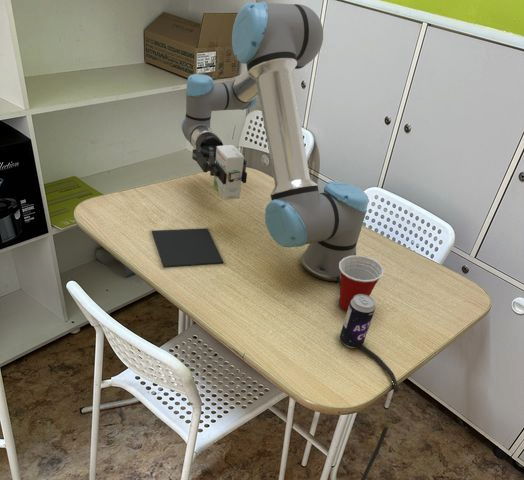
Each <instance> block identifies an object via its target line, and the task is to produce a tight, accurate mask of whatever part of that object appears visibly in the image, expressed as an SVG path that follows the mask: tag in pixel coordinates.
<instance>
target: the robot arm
mask: <svg viewBox="0 0 524 480" xmlns="http://www.w3.org/2000/svg"><path fill="white" fill-rule="evenodd" d="M323 42H324V28H323V25H322V21H321V19H320V17H319V15H318V14H317V13H316V12H315V11H314V10H313V9H312V8H310V7H309V6H307V5H304V4H298V3H294V4H291V3H289V4H288V3H277V2H265V1H259V2H248V3H245V4H244V5H242V6H241V8H240V9H239V10H238V12H237V14H236V16H235V19H234V22H233V26H232V33H231V46H232V52H233V55H234V57H235V58H236V60H237V61H238V62H239V63H241V64H244V65H245V66H246V69H245V70H244V71H243V72H241V74H239V75H238V76H237V77H236V78H235V79H233V80H232V81H229V82H214V79H213V78H212V77H211V76H209V75H207V74H200V73H193V74H190V75H189V76H188V78H187V81H186V89H185V95H186V96H185V99H186V100H185V117H183V120H182V122H181V131H182V133H183V136H184V138H185V139H186V140H187V141H188V142H189V144H190V146H192V147H193V149H192V153H191V155H192V157H191V158H192V160H194V161H195V162H196V163H197V165H198V166H199V167H200V169H201V170H202V172H203V173H208V172H209V176H211V177H214V176H216V177H218V178H219V179H220V181H221V182H222V183H223V184H226V178H227V174H226V173H225V171H224V170H223V169H222V168H221V166H220V165H219V164H216V166H215V163H216V149H217V146H224V143H223V141H222V140H221V139H220V137H219V136H218V135H217V134H216V133H215V132H214V131H213V129H212V128H211V119H212V112H217V111H219V112H220V111H238V110H239V111H240V110H241V111H242V110H243V111H244V110H248V109H252V108H254V107H255V105H256V103H257V102H258V100H259V105H260V111H261V116H262V120H263V121H262V122H263V127H264V132H265V138H266V143H267V149H268V154H269V160H270V164H271V171H272V176H273V182H274V188H273V189H272V191H271V192H270V200H271V201H269V202H268V203H267V205H266V207H265V213H264V220H265V227H266V228H267V231H268V233H269V235H270V237H271V238H272V240H273V241H275V243H276V244H278V245H279V246H281V247H283V248H288V249H289V248H295V247H296V248H298V247H304V246H306V245H308V246H307V248H306V249H305V250H304V252H303V254H302V258H301V266H302V268H303V269H304V270H305V271H306V272H307V273H308V274H309V275H311V276H313V277H315V279H316V278H317V279H319V280H321V281H326V282H332V283H338V285H339V288H340V287H341V271H340V269H339V262H340V261H341V260H342V259H343V258H345V257H348V256H354V255H357V245H358V241H359V237H360V235H361V231H362V227H363V224H364V222H365V218H366V214H367V212H368V205H369V196H368V194H367V193H366V192H365V191H364V190H363V189H361V188H359V187H358V186H355V185H353V184H351V183H347V182H344V181H336V180H331V181H328V182H326V184H325V185H324V187H323V192H320V191H319V185H318V184H317V183H316V182H315V181H313V180H312V178H311V176H310V171H309V170H310V169H309V164H308V159H307V152H306V146H305V141H304V133H303V129H302V121H301V117H300V111H299V105H298V99H297V92H296V87H295V81H294V76H293V75H294V74H293V73H294V71H295V70H301V69H302V68H304V67H305V66H307V65H308V64H310V63H311V62H312V61H313V60H314V59H315V58H316V57H317V55H318V54H319V52H321V49H322V46H323ZM247 162H248V161H247V160H246V159H245V158H244V162H243V171H242V180H241V183H242V184H247V180H248V179H247V178H248V173H247ZM358 348H359V349H361V351H363V352H364V353H365V354H367V355H368V356H370V357H371V358H373V360H375V361H376V362H377V363H378V364H379V365H380V366H381V368H382V369H383V370H384V371H385V372H386V371H387V372H386V373H387V374H388V376H389V378H390V381H391V380H392V381H393V383H394V385H393V383H392V381H391V384H392V390H393V392H394V393H395V394H398V393H399V388H398V387H399V386H398V381H397V378H396V376H395V374H394V373H393V371H392V370H391V368H390V367H389V366H388V365H387V364H386V363H385V362H384V360H382V358H381V357H379V356H378V355H377V354H376V353H375V352H374V351H372V350H371V349H369V348H368V347H366V346H365V345H364V344H363V345H361V346H360V347H358ZM395 384H396V385H395ZM388 430H389V427H384V428H382V431H381V434H380V437H379V439H378V441H377V443H376V446H375V448H374V451H373V453H372V455H371V457H370V459H369V461H368V463H367V466H366V467H365V470H364V471H363V474H362V476H361V479H360V480H366V479H367V476H368V475H369V473H370V470H371V468H372V467H373V464H374V462H375V460H376V458H377V456H378V454H379V452H380V449H381V447H382V445H383V443H384V441H385V438H386V435H387V432H388Z"/></svg>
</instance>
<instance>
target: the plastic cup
mask: <svg viewBox="0 0 524 480" xmlns="http://www.w3.org/2000/svg"><path fill="white" fill-rule="evenodd" d="M339 269H340V271H341V287H340V286H339V307H340V308H341V309H342V310H343V311H345V312H347V311H348V307H349V304H350V301H351V300H352V299H353V297H354V296H355V295H358V294H364V295H367V296H370V297H371V294H372V292H373V290H374V289H375V286H376V285H377V283H378V281H379V280H380V279H381V278H382V277H383V275H384V273H385V272H384V271H385V269H384V267H383V266H382V264H381V262H379V261H377V260H376V259H375V258H372V257H369V256H366V255H359V254H356V255H354V256H348V257H345V258H343V259H342V260H341V261H340V262H339Z"/></svg>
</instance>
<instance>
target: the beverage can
mask: <svg viewBox="0 0 524 480" xmlns="http://www.w3.org/2000/svg"><path fill="white" fill-rule="evenodd" d="M375 311H376V301H375V300H374V298H373V297H371V295H370V296H367V295H364V294H358V295H355V296H354V297H353V299H352V300H351V301H350V304H349V307H348V311H346V315H345V318H344V321H343V324H342V328H341V330H340V334H339V340H340V341H341V342H342V344H343V345H344V346H345V347H347V348H351V349H356V348H359V347H360V346H361V345H364V342H365V340H366V337H367V334H368V331H369V329H370V326H371V324H372V320H373V316H374V315H375Z"/></svg>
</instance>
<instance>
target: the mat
mask: <svg viewBox="0 0 524 480" xmlns="http://www.w3.org/2000/svg"><path fill="white" fill-rule="evenodd" d="M151 234H152V237H153V239H154V243H155V246H156V248H157V251H158V254H159V257H160V261H161V263H162V266H163V268H176V267H189V266H190V267H191V266H203V265H205V266H206V265H222V264H225V263H224V259H223V258H222V256H221V254H220V252H219V249H218V248H217V246H216V243H215V241H214V239H213V238H212V235H211V233H210V231H209V229H208V228H207V227H206V228H184V229H183V228H182V229H159V230H156V229H155V230H151Z"/></svg>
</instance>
